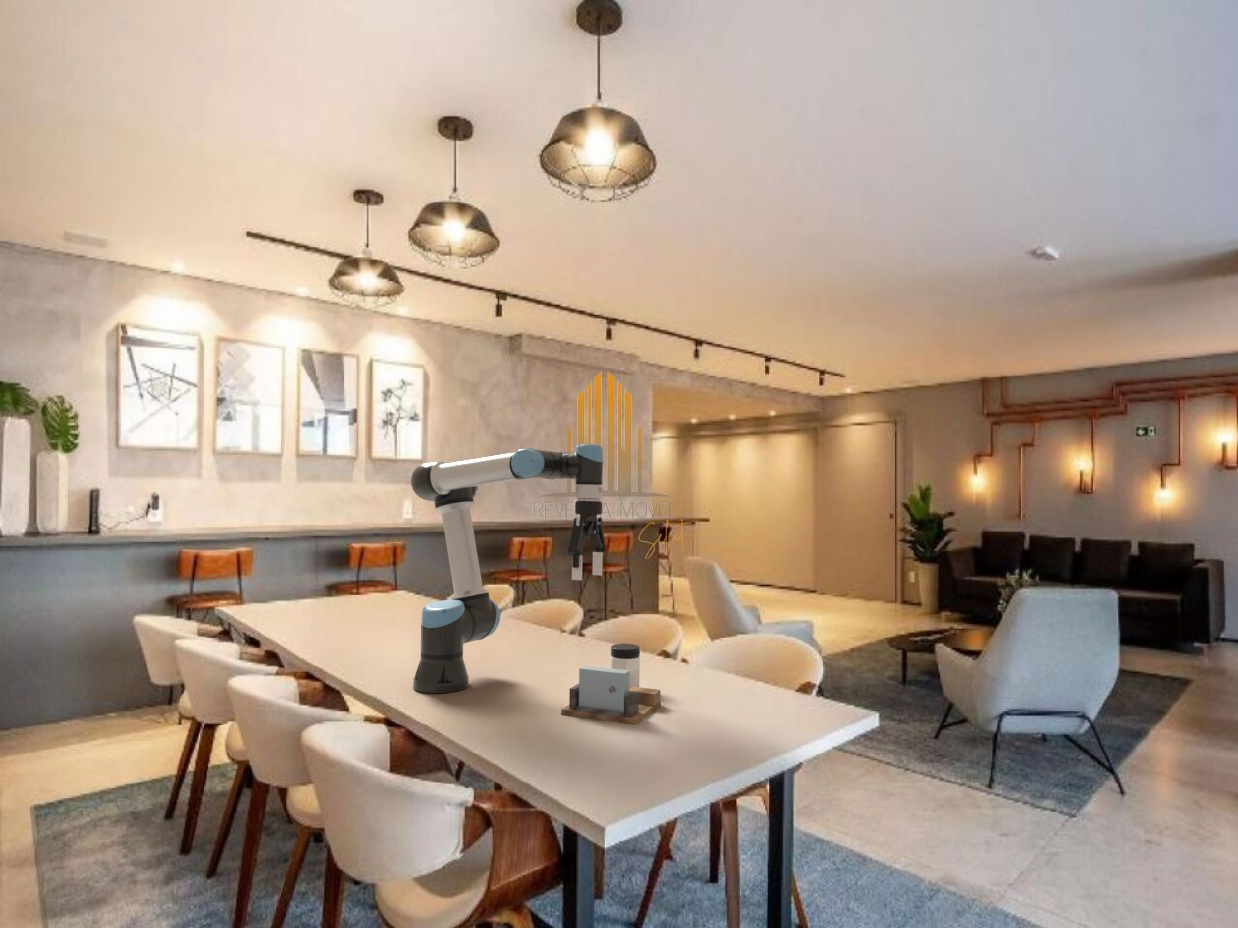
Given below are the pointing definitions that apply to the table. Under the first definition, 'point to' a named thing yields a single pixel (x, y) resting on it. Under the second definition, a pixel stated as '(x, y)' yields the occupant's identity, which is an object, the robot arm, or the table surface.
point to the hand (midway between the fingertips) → (587, 577)
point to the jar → (627, 661)
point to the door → (603, 688)
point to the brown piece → (637, 709)
